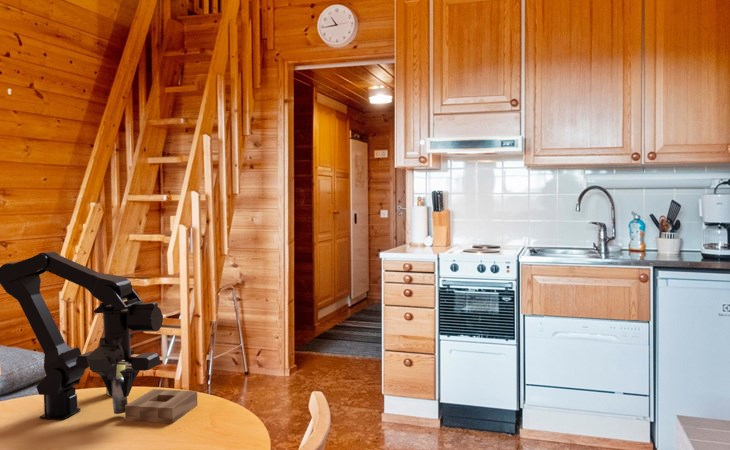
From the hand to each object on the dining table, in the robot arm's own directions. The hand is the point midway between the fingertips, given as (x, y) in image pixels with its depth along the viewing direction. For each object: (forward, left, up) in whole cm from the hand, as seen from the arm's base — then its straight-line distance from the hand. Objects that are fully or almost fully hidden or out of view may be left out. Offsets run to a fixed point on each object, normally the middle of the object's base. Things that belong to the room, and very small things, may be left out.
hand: (119, 396), depth 136 cm
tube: (-11, +15, -5) cm, 19 cm away
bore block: (+9, +4, -5) cm, 11 cm away
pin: (0, 0, -4) cm, 4 cm away
